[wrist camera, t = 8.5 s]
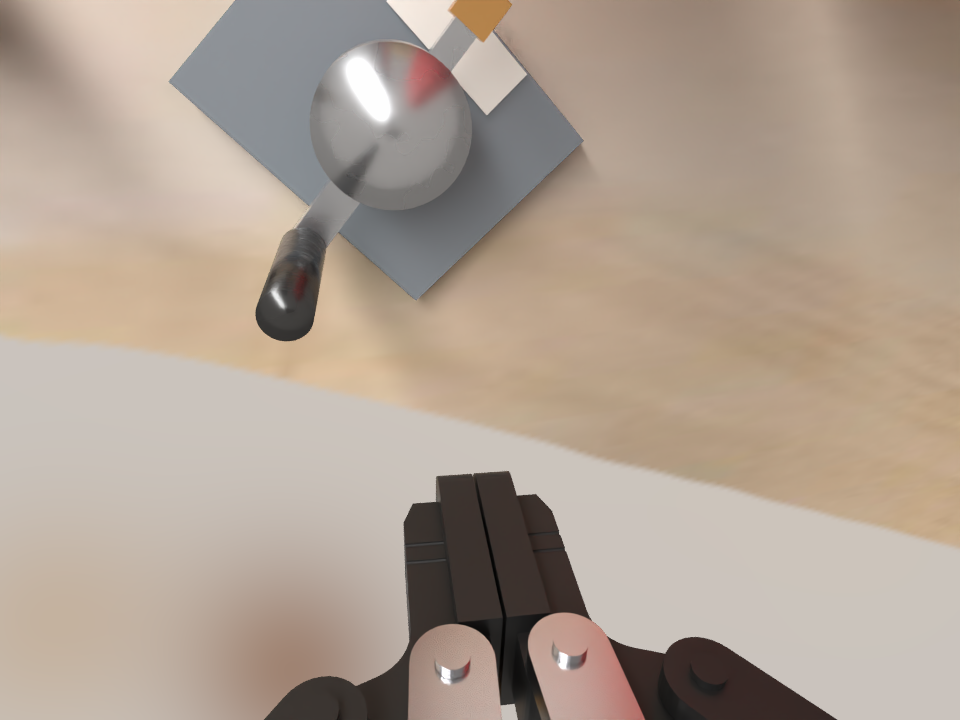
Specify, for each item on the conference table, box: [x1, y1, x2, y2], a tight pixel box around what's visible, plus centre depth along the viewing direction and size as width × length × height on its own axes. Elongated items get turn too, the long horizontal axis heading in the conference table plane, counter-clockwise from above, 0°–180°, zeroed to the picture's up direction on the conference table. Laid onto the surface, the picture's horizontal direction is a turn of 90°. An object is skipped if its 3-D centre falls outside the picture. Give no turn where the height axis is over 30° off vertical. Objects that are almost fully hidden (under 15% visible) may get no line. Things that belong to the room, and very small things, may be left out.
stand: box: [169, 0, 584, 300], centre depth 28 cm, size 11×14×4 cm
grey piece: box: [256, 0, 512, 341], centre depth 23 cm, size 6×13×8 cm, turn 140°
